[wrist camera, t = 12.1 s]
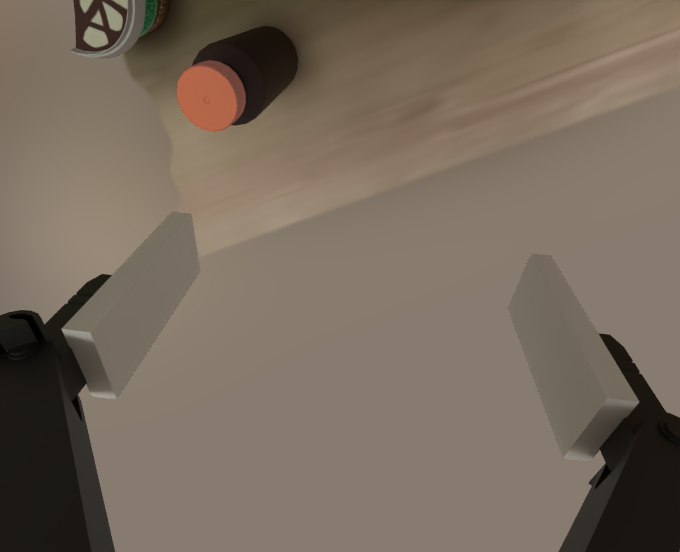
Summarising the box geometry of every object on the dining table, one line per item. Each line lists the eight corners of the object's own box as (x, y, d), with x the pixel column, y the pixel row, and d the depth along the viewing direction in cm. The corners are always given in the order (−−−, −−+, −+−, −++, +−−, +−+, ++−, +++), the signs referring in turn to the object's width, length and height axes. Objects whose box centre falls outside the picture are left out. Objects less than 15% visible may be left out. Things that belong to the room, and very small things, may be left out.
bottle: (231, 39, 47) (146, 70, 31) (283, 15, 45) (222, 35, 29) (257, 98, 50) (193, 154, 34) (307, 79, 48) (264, 128, 32)
